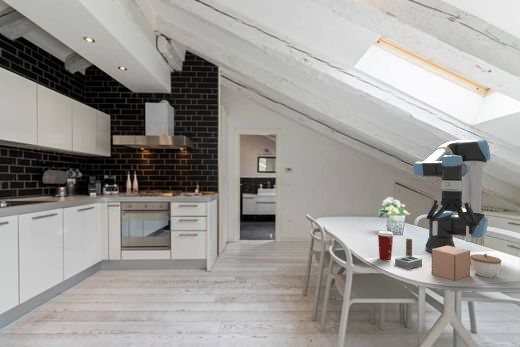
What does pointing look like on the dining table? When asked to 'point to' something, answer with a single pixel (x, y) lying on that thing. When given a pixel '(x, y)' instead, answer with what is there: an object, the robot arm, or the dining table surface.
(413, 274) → the dining table surface
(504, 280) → the dining table surface
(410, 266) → the grey hollow block
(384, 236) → the paper cup
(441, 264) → the block
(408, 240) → the pin
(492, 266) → the lidded jar
